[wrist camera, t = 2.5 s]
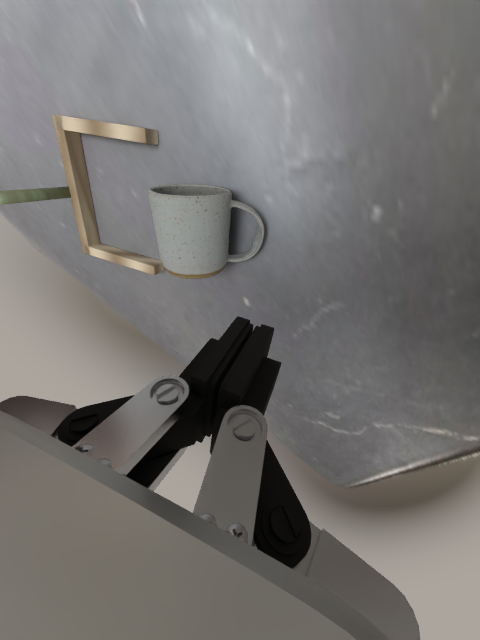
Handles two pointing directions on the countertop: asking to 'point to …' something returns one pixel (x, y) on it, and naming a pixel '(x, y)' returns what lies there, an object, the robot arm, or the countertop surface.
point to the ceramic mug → (197, 229)
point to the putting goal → (88, 186)
